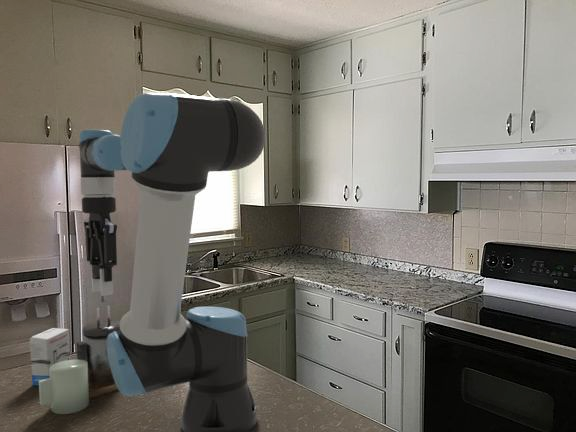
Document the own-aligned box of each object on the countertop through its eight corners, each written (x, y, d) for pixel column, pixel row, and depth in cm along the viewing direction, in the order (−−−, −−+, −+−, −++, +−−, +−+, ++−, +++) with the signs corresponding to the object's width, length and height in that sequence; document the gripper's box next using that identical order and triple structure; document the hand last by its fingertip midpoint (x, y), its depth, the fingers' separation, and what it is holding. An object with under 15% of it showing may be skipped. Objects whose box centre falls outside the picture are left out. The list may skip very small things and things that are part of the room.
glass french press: (143, 381, 120) (140, 307, 118) (90, 398, 111) (86, 318, 109) (120, 366, 129) (117, 297, 128) (69, 381, 120) (65, 307, 119)
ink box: (49, 387, 117) (46, 339, 116) (31, 385, 118) (28, 337, 117) (71, 373, 126) (69, 328, 125) (54, 371, 126) (52, 327, 126)
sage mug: (94, 405, 107) (93, 365, 107) (47, 421, 101) (45, 379, 100) (81, 394, 113) (79, 356, 112) (35, 409, 106) (33, 368, 105)
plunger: (115, 301, 118) (114, 264, 118) (97, 304, 115) (96, 267, 115) (108, 298, 122) (106, 262, 121) (90, 301, 119) (88, 264, 118)
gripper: (130, 196, 113) (133, 296, 115) (99, 194, 125) (102, 285, 127) (98, 197, 108) (102, 302, 109) (68, 195, 120) (73, 289, 122)
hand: (102, 292), depth 118 cm, fingers closed on plunger, 4 cm apart
